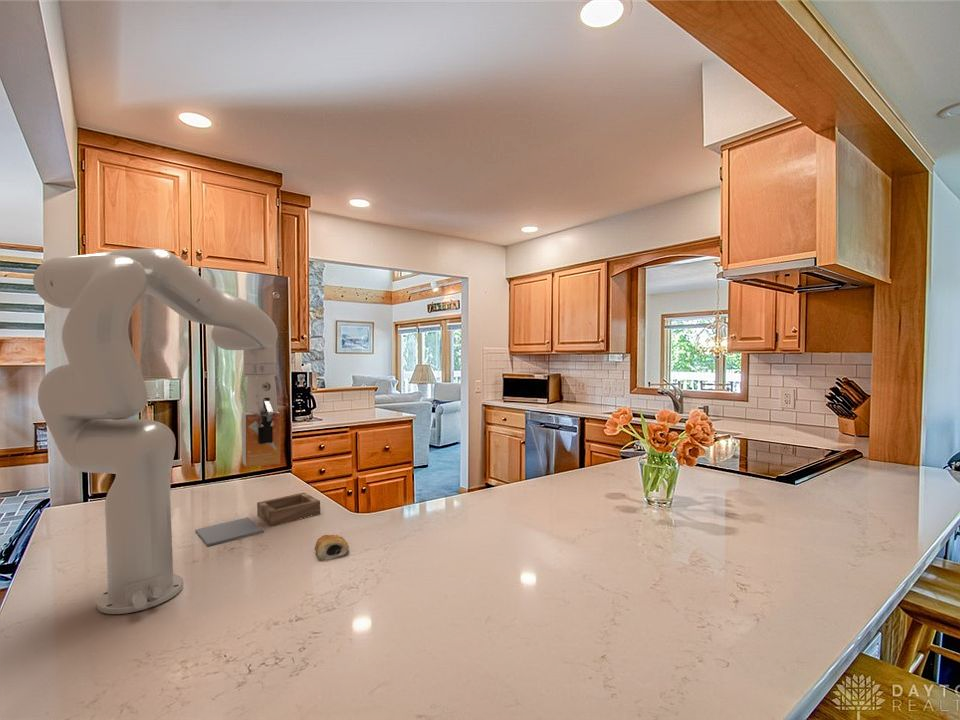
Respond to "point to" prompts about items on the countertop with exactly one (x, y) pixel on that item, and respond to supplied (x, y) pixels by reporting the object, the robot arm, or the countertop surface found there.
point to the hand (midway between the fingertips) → (260, 440)
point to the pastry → (331, 547)
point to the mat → (228, 531)
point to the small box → (252, 449)
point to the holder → (288, 508)
